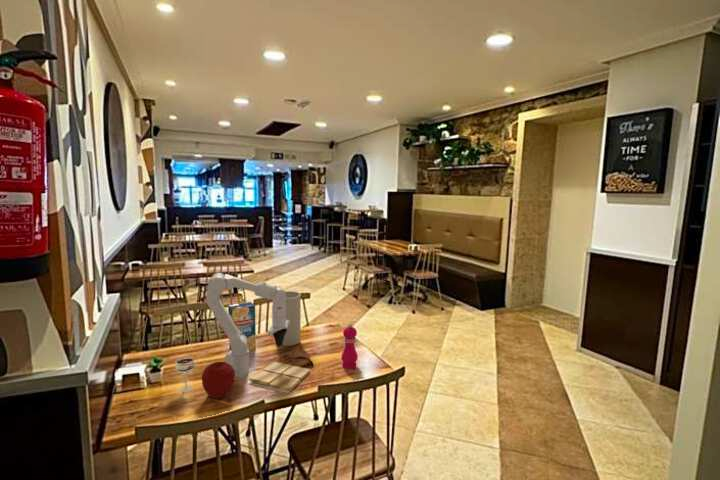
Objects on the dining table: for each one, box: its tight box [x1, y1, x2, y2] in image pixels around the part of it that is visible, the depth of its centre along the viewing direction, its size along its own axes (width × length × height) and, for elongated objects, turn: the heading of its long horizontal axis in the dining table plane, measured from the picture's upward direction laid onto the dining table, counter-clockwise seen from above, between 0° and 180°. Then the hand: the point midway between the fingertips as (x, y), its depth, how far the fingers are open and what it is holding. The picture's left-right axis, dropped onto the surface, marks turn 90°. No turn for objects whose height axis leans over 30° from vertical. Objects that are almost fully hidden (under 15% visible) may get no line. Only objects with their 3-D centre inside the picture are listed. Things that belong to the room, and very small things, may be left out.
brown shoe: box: [285, 345, 314, 368], centre depth 175 cm, size 18×7×7 cm, turn 28°
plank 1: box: [249, 370, 280, 385], centre depth 156 cm, size 9×8×1 cm
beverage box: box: [227, 301, 257, 351], centre depth 185 cm, size 7×11×22 cm, turn 124°
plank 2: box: [270, 375, 301, 392], centre depth 153 cm, size 9×8×1 cm
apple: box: [201, 361, 236, 400], centre depth 144 cm, size 12×12×13 cm
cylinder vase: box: [281, 290, 302, 347], centre depth 194 cm, size 12×12×25 cm
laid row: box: [262, 361, 311, 382], centre depth 163 cm, size 18×8×1 cm, turn 70°
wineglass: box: [175, 355, 196, 393], centre depth 148 cm, size 7×7×12 cm
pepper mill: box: [341, 323, 358, 370], centre depth 169 cm, size 7×7×20 cm
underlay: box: [246, 369, 312, 394], centre depth 159 cm, size 20×19×1 cm
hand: (279, 345), depth 166 cm, fingers closed
